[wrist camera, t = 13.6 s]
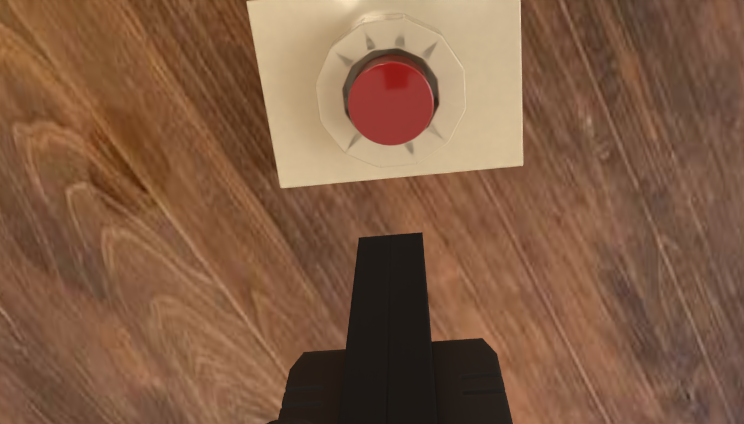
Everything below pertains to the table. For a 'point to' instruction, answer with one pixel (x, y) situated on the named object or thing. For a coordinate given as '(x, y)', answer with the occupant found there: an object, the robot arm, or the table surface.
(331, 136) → the button block
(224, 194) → the table surface
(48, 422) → the table surface
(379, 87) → the button
